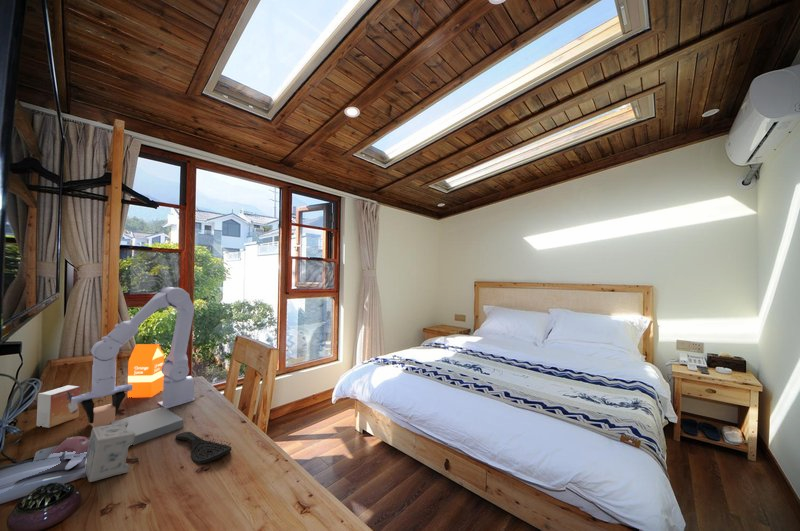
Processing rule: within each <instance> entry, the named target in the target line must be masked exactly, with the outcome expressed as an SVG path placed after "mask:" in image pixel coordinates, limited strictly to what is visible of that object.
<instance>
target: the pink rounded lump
mask: <svg viewBox="0 0 800 531" xmlns="http://www.w3.org/2000/svg"><path fill="white" fill-rule="evenodd" d="M89 441H90V439H88V437H86V436H82V435H78V436H77V435H75V436H72V437H66V439H64V440H63V441H61V443H59V445H58V446H57V447H56V448H55V449H54V450H52V451H51V453H52V454H53V453H60V452H65V451H67V452H73V451H76V453H75V454H80V453H84V452H87V450H88V446H89Z"/></svg>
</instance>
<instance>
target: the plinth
mask: <svg viewBox="0 0 800 531" xmlns="http://www.w3.org/2000/svg"><path fill="white" fill-rule="evenodd" d="M123 422H128V426H127V430H128V431H129V432H135V440H134V442H133V446H135V445H137V444H141V443H144V442H146V441H149V440H151V439H152V440H153V439H154V438H157V437H160V436H163V435H165V434H167V433H171V432H174V431H176V430H179V429H182V428H184V419H183V418H182V417H180V416H178V414H176V413H174V412H172V411H171V410H169V408H167V409H166V408H165V407H163V406H161V407H158V408H155V409H151V410H147V411H144V412H140V413H137V414H134V415H131V416H128V417H124V418H121V419H117V420H115V421H114V422H110V424H109V425H111V424H116V423H123Z"/></svg>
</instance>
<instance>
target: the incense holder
mask: <svg viewBox="0 0 800 531" xmlns="http://www.w3.org/2000/svg"><path fill="white" fill-rule="evenodd" d="M127 426H128V422H123V423H116V424H111V425H110V424H108V425H105V426H99V427H92V429H91V432H90V436H89V446H88V450H87V454H86V457H85V458H87V464H86V470H85V473H86V477H87V480H88V482H89V483H92V482H97V481H99V480H103V479H107V478H110V477H114V476H117V475H122V474H128V473H129V471H130V465H129V464H128V463H127V458H128V457H127V456H128V452H129V445H131V444H133V442H134V440H135V432H129V431H128V430H127Z"/></svg>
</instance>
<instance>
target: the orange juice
mask: <svg viewBox="0 0 800 531" xmlns="http://www.w3.org/2000/svg"><path fill="white" fill-rule="evenodd" d="M164 363H165V354H164V352H163V350H162V349H161V346H160V344H159V343H157V344H156V343H155V344H153V343H151V344H149V343H148V344H146V343H145V344H144V343H143V344H139V343H138V344H135V346H134V348H133V350H132V352H131V355H130V357H129V359H128V369H127V372H128V373H127V384H132V385H133V388H132V391H127V398H128V399H129V397H130V398H131V397H132V399H133V398H153V397H155V395H158V394H159V393H161V392H163V379H164V377H165V375H164V374H163V373H162V366H163V364H164ZM160 391H161V392H160Z"/></svg>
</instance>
